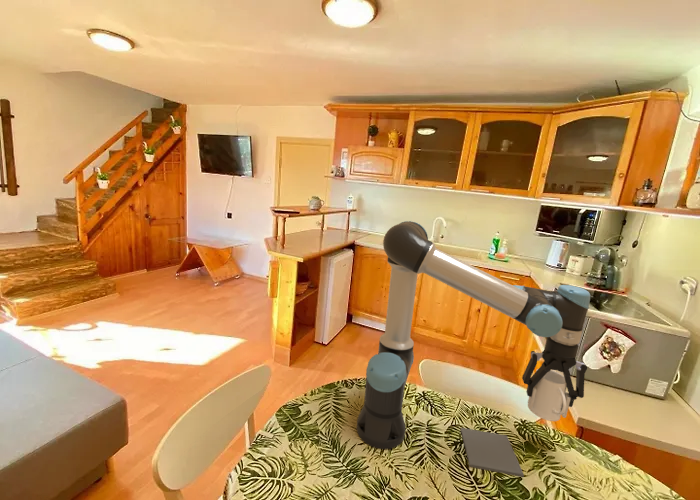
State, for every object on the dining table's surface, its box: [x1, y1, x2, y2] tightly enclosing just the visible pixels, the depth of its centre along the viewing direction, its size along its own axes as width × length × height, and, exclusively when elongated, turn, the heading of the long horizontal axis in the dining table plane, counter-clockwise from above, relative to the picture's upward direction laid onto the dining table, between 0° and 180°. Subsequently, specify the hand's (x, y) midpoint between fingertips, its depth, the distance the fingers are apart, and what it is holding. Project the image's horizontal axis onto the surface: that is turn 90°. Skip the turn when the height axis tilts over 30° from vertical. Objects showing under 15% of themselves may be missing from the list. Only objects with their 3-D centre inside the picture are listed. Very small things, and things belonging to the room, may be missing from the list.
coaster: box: [460, 427, 525, 478], centre depth 92 cm, size 14×14×1 cm
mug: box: [527, 368, 567, 422], centre depth 92 cm, size 12×8×12 cm
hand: (546, 409), depth 92 cm, fingers closed on mug, 8 cm apart
